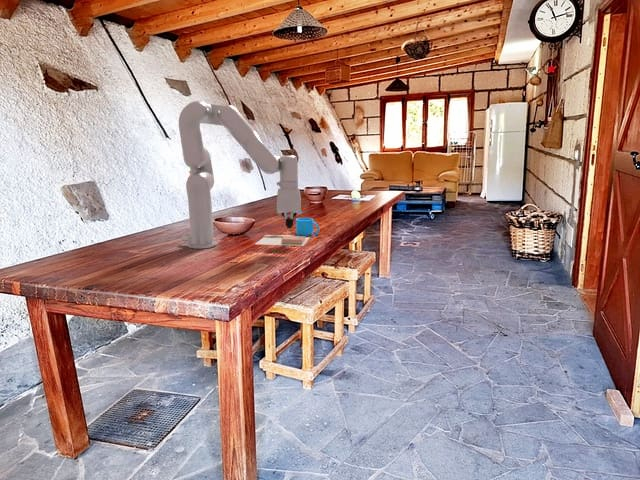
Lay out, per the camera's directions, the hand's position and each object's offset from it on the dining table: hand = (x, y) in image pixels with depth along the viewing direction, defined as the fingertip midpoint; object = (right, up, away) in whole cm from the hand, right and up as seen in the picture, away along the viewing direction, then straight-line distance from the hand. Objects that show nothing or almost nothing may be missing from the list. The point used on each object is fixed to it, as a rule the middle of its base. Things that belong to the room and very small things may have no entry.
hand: (289, 227), depth 202 cm
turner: (-4, -4, +11) cm, 12 cm away
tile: (-3, -5, +1) cm, 6 cm away
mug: (+8, -4, +19) cm, 21 cm away
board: (-3, -7, +5) cm, 9 cm away
